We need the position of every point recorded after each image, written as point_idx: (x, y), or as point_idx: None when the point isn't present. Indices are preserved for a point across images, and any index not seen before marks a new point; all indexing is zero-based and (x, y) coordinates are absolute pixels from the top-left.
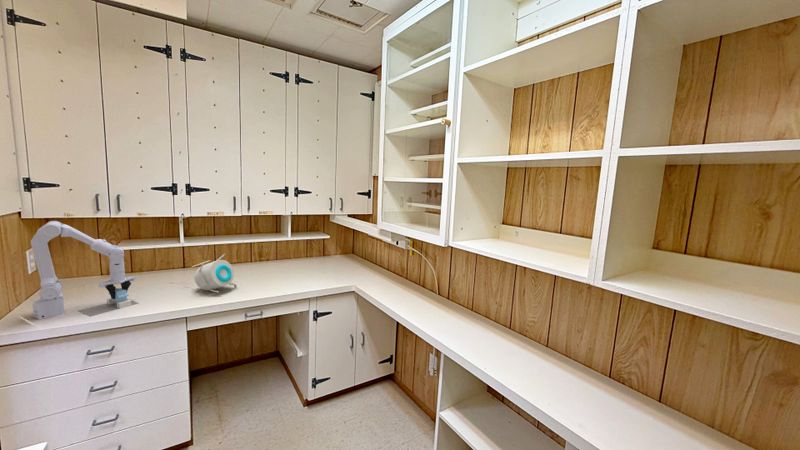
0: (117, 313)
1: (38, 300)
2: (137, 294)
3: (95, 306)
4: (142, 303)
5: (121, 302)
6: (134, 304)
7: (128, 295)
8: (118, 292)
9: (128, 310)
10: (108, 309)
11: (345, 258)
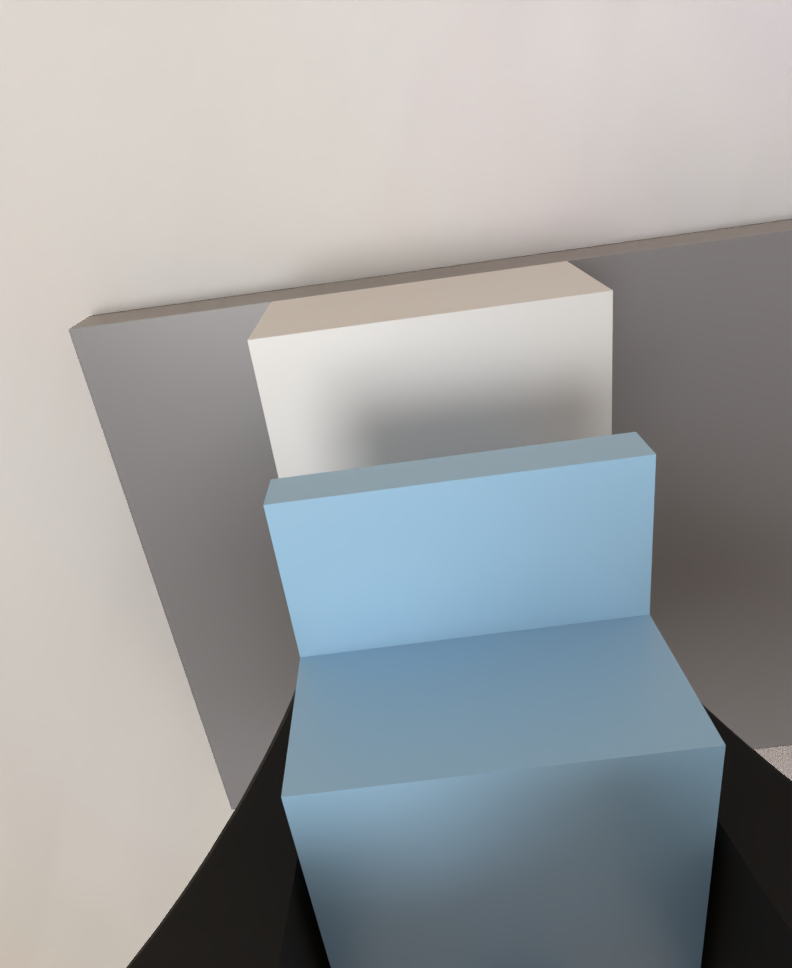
0: (690, 36)
1: None
2: (24, 919)
3: (777, 733)
4: (6, 388)
5: (521, 368)
6: (190, 317)
7: (282, 479)
8: (643, 734)
9: (410, 69)
10: (753, 387)
11: None
